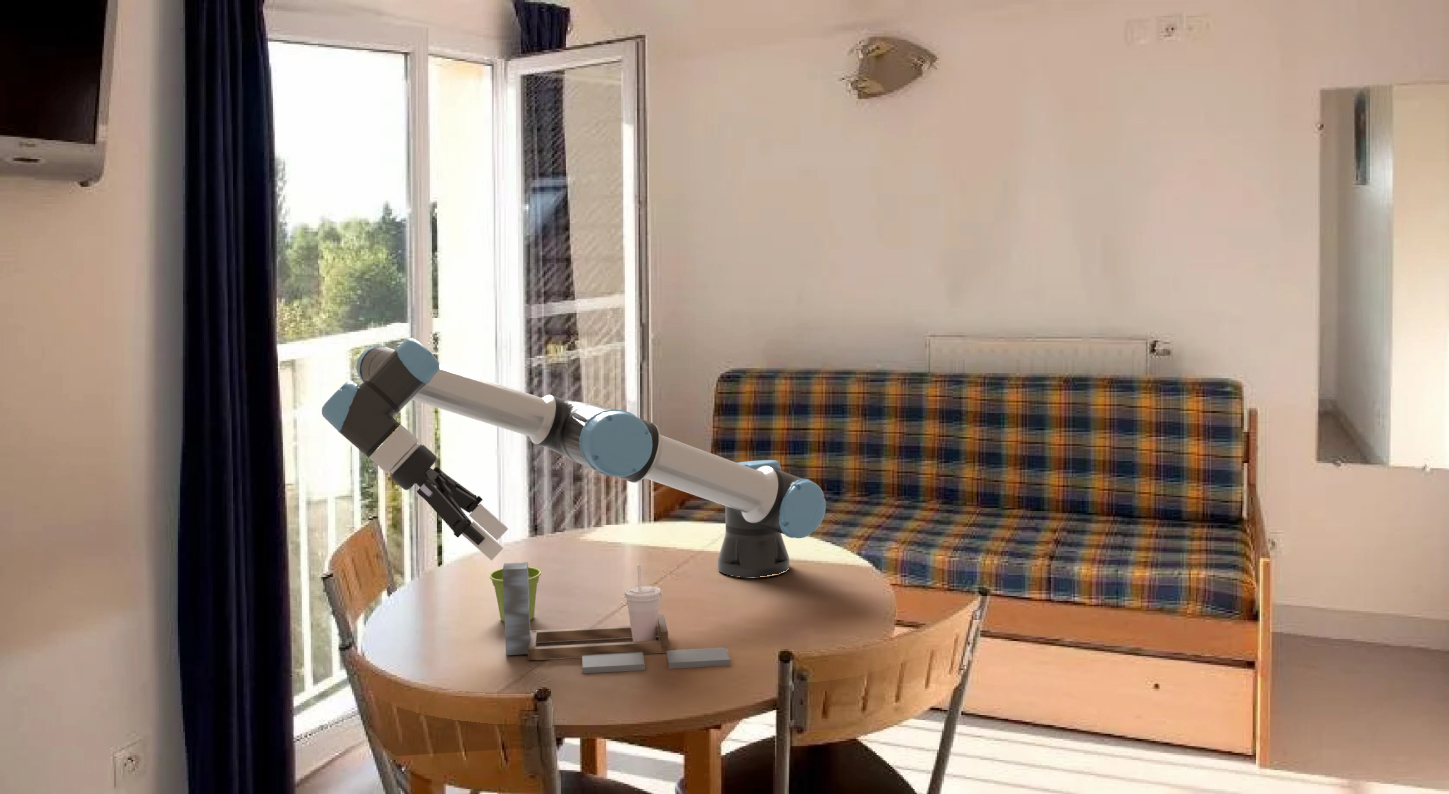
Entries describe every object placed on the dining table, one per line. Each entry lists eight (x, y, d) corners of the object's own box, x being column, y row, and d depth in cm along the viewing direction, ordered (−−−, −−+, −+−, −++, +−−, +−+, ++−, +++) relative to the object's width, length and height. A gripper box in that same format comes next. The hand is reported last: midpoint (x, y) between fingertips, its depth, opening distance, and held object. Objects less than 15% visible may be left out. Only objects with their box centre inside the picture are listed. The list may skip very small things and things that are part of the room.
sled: (664, 633, 216) (662, 551, 214) (668, 652, 206) (666, 567, 204) (508, 641, 213) (505, 558, 211) (504, 661, 203) (501, 574, 201)
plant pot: (519, 629, 220) (517, 583, 219) (480, 621, 225) (478, 576, 224) (553, 615, 228) (551, 570, 227) (514, 608, 233) (513, 564, 232)
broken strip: (725, 653, 206) (725, 647, 206) (730, 665, 200) (729, 659, 200) (582, 660, 204) (582, 655, 204) (582, 673, 198) (582, 667, 198)
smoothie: (627, 639, 214) (625, 561, 212) (664, 639, 214) (662, 561, 212) (623, 651, 208) (621, 571, 206) (661, 651, 208) (659, 571, 206)
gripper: (400, 461, 214) (490, 542, 218) (376, 490, 190) (478, 580, 193) (429, 431, 214) (519, 511, 218) (410, 455, 190) (511, 546, 193)
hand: (500, 544), depth 206 cm, fingers open, 13 cm apart
